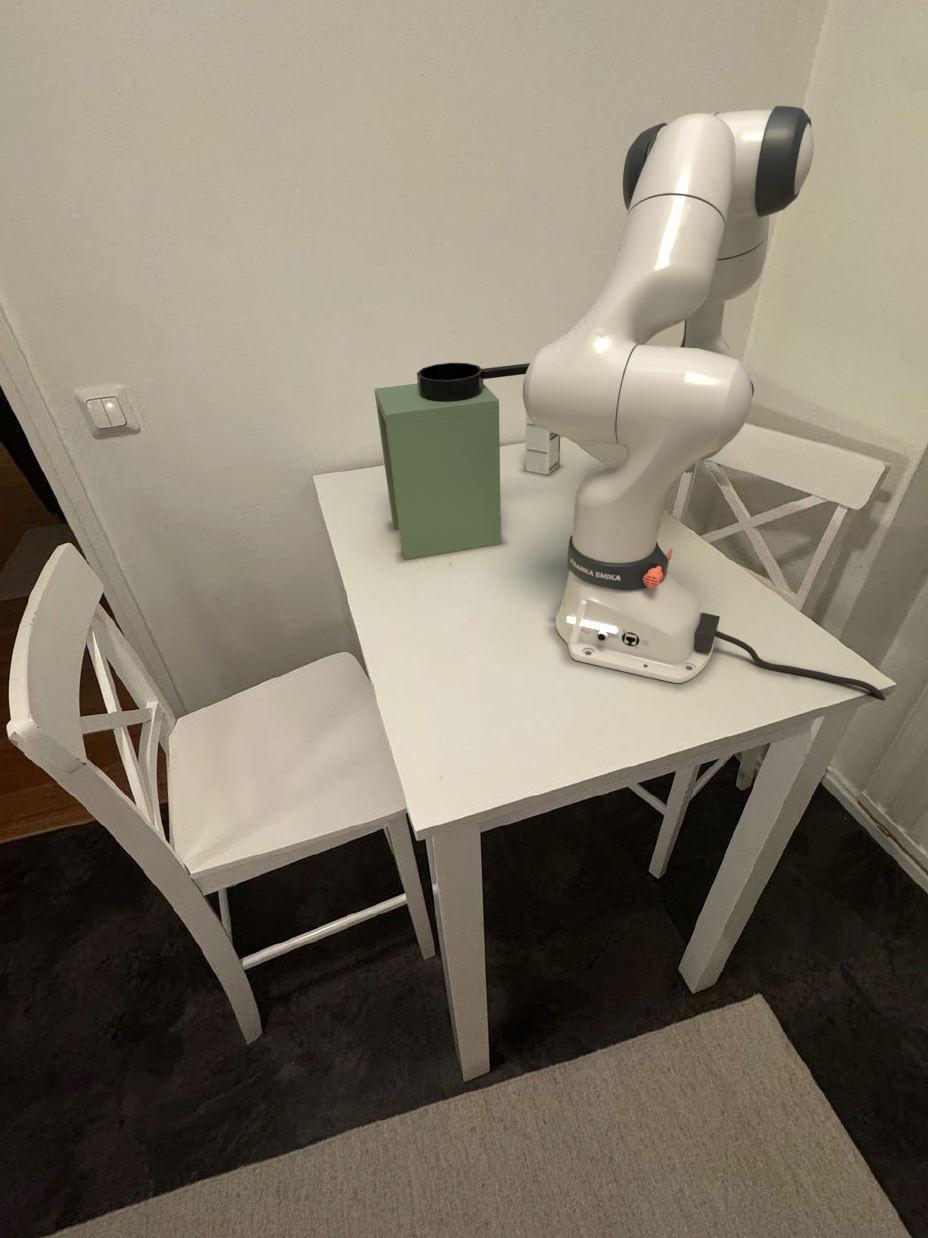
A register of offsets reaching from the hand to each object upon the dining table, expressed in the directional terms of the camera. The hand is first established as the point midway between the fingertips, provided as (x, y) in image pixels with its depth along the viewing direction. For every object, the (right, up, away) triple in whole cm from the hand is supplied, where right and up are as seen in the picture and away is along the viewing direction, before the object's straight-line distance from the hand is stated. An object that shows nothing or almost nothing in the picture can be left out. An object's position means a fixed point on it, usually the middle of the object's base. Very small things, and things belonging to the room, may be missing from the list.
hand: (594, 381), depth 104 cm
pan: (-17, -2, -4) cm, 17 cm away
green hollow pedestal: (-26, -25, +10) cm, 38 cm away
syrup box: (-5, -7, +32) cm, 33 cm away
